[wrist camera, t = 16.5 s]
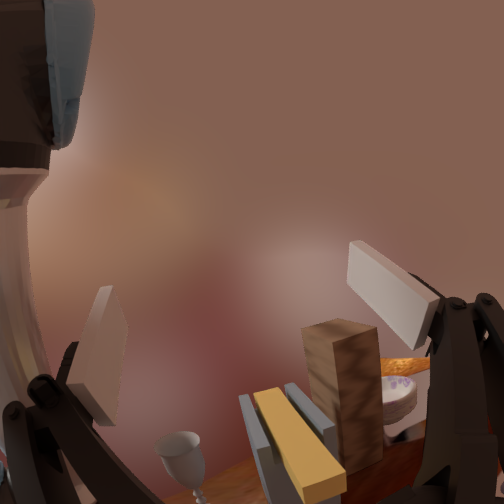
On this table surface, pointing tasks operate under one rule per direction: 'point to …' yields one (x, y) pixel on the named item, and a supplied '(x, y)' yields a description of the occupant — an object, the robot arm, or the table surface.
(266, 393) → the ochre bar
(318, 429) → the grey u cradle
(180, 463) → the chalice
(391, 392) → the paper bowls
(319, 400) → the walnut pedestal
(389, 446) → the table surface
